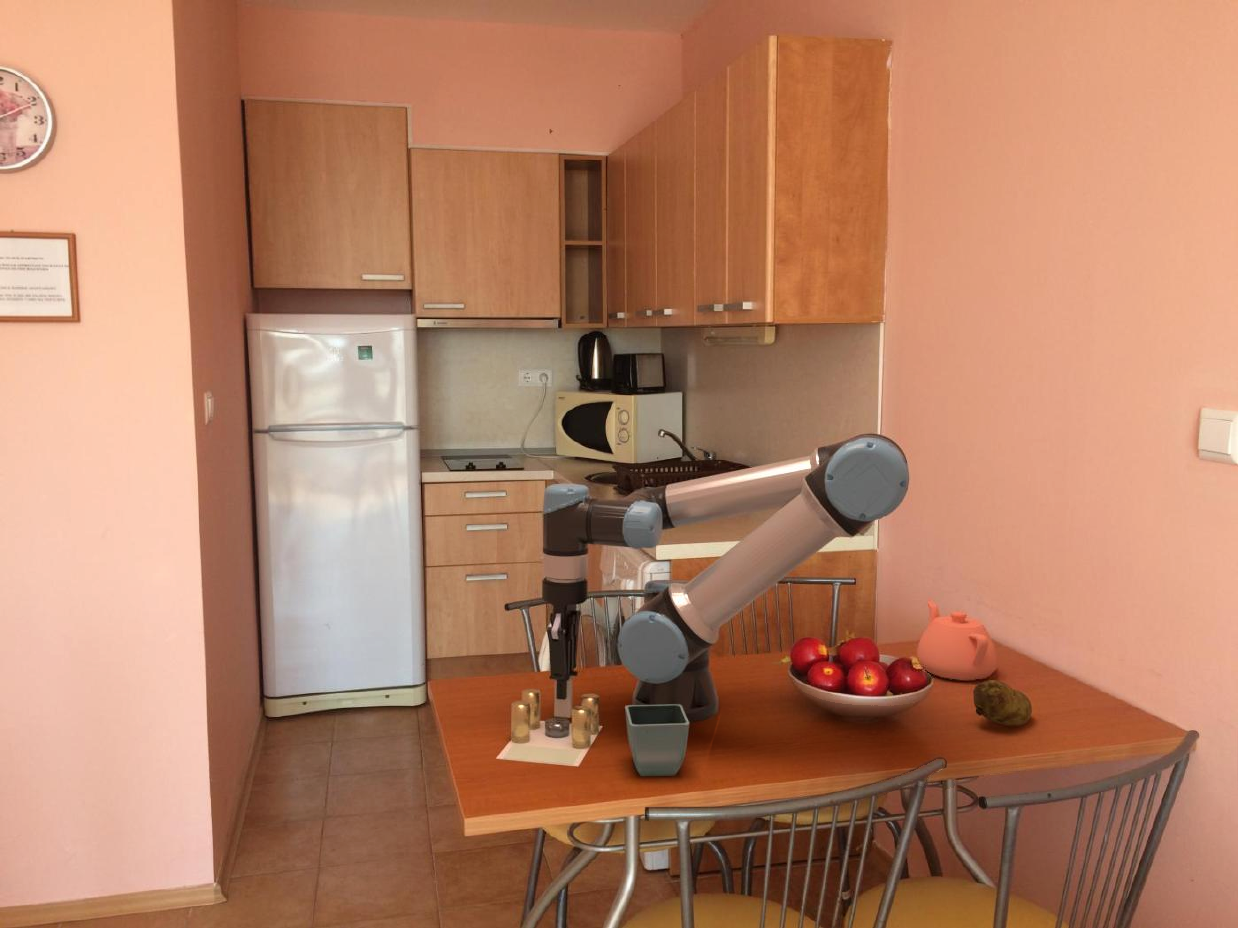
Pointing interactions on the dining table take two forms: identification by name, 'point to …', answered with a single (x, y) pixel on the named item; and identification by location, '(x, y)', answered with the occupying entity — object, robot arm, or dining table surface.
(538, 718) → the cylinder
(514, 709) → the cylinder
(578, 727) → the cylinder
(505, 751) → the board
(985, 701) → the potato
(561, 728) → the dark metal puck
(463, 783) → the dining table surface
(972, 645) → the teapot
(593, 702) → the cylinder
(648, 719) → the flower pot
